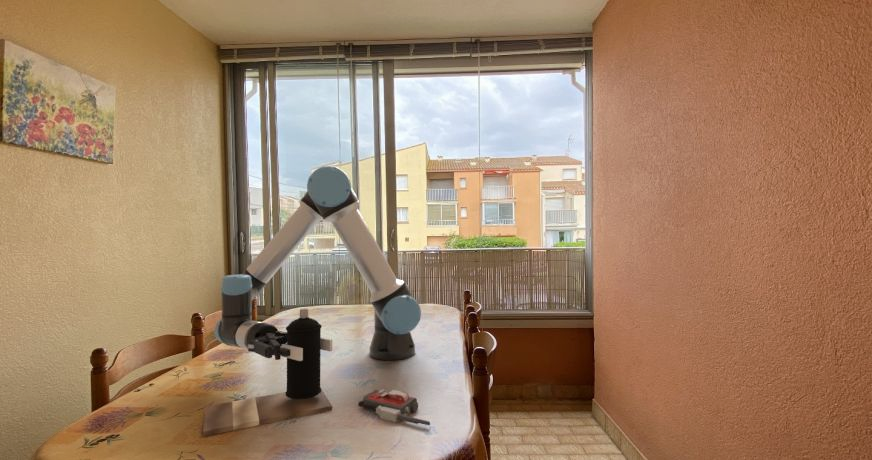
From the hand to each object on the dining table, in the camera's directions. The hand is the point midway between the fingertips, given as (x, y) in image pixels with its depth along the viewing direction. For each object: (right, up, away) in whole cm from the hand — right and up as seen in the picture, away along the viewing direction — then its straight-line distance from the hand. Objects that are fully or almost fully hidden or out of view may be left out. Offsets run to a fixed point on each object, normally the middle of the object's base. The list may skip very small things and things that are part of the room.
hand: (316, 349), depth 98 cm
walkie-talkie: (+19, -14, -3) cm, 24 cm away
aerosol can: (-4, -11, +3) cm, 12 cm away
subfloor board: (-11, -14, -1) cm, 17 cm away
